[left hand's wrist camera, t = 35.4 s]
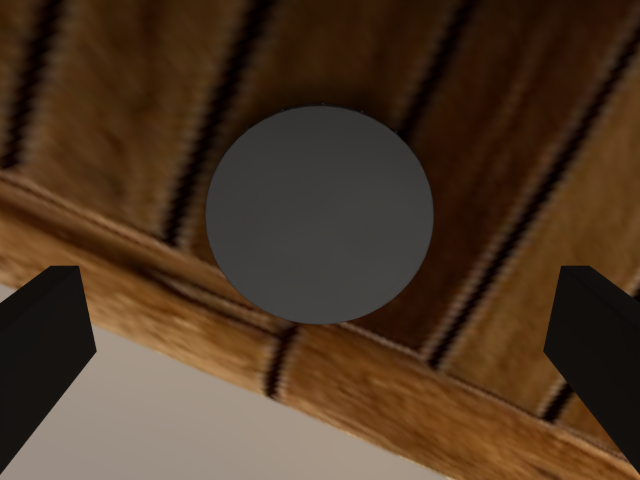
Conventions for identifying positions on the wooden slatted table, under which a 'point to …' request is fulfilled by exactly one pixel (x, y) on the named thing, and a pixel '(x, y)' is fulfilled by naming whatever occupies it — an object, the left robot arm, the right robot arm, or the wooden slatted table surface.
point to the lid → (319, 214)
